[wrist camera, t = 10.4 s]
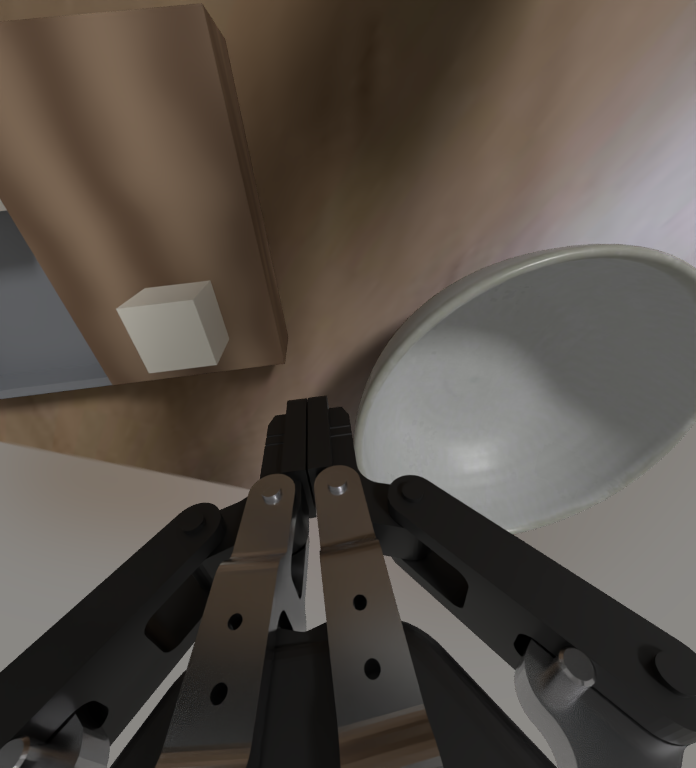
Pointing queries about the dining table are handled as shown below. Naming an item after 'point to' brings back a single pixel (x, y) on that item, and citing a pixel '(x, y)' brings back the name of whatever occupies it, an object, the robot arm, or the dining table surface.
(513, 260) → the decorative bowl
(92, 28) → the walnut board
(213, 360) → the off-white cube
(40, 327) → the tray
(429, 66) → the dining table surface
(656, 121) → the dining table surface
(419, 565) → the robot arm
